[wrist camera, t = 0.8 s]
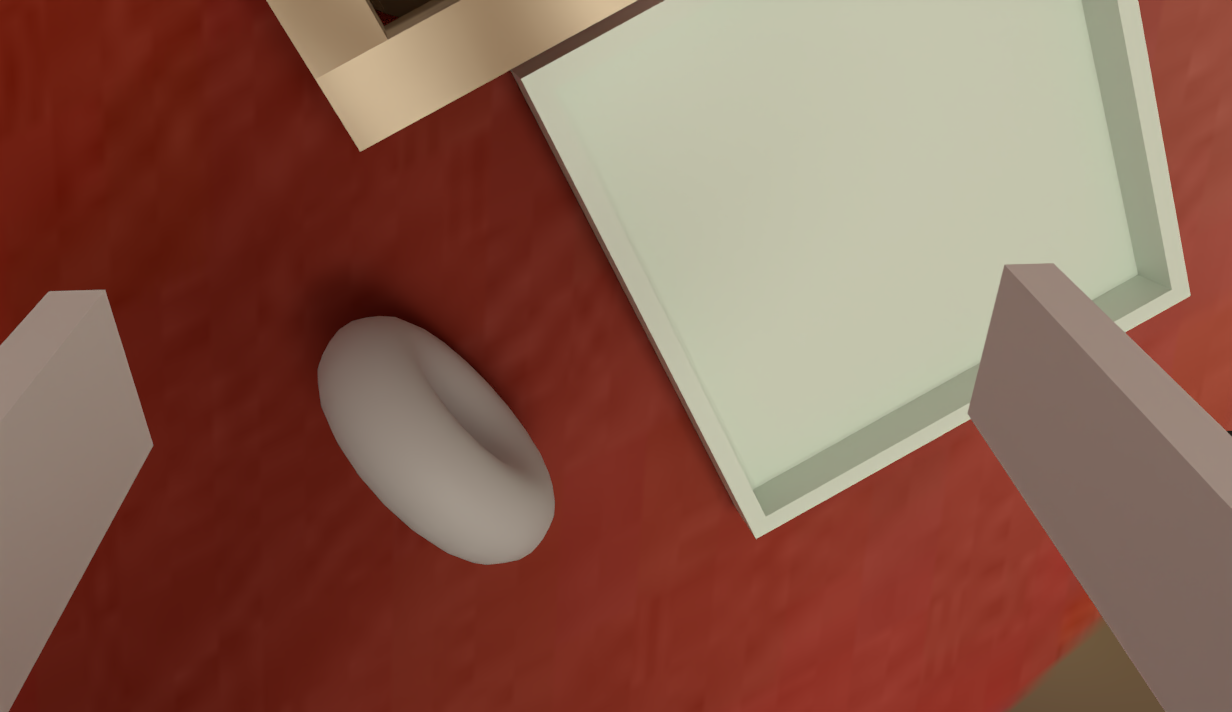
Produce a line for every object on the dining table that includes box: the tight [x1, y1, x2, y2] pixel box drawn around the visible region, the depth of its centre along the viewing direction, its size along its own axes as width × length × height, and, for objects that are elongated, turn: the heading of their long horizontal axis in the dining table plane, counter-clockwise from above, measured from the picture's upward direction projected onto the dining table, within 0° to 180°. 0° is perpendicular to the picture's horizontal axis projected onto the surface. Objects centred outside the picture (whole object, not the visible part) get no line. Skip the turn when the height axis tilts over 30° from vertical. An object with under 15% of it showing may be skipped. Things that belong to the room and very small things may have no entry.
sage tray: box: [510, 0, 1191, 539], centre depth 38 cm, size 22×22×3 cm
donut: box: [318, 316, 555, 565], centre depth 33 cm, size 10×4×10 cm, turn 40°
